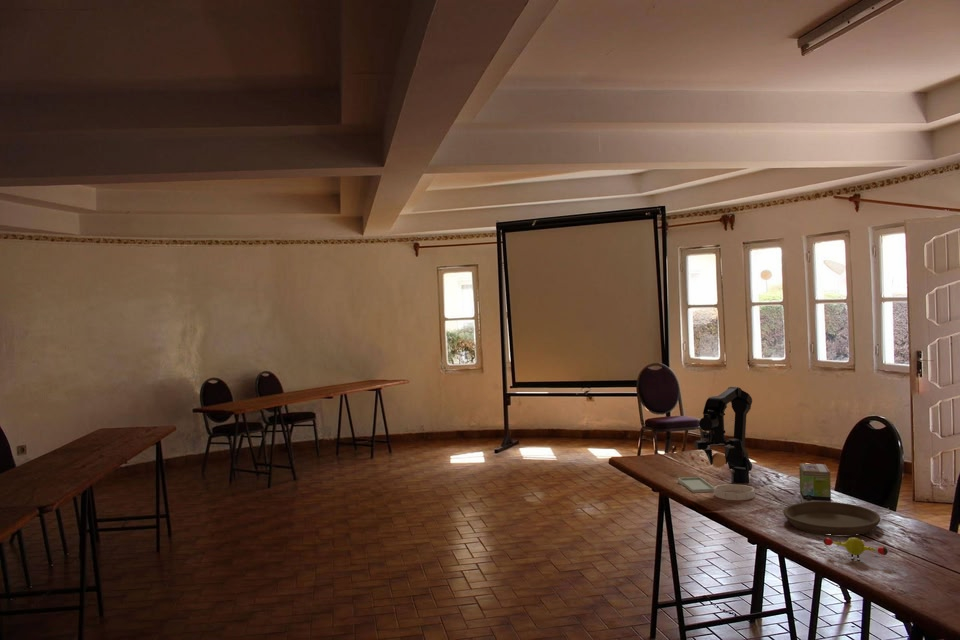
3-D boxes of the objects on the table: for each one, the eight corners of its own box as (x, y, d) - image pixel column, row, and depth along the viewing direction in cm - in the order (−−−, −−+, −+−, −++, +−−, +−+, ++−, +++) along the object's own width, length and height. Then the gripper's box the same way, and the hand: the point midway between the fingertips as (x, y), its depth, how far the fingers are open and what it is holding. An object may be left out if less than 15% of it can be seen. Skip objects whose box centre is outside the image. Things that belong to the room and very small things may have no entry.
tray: (700, 481, 328) (699, 476, 328) (716, 493, 306) (716, 488, 306) (678, 482, 328) (677, 477, 328) (693, 494, 306) (692, 489, 306)
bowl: (746, 491, 307) (745, 483, 307) (760, 501, 291) (760, 492, 291) (709, 493, 307) (709, 484, 307) (722, 502, 291) (721, 494, 291)
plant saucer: (826, 543, 238) (825, 530, 238) (765, 519, 268) (764, 506, 268) (902, 532, 246) (901, 519, 246) (835, 509, 276) (834, 497, 276)
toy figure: (890, 562, 218) (889, 540, 218) (886, 568, 214) (885, 545, 214) (827, 551, 230) (826, 530, 230) (821, 556, 226) (820, 534, 226)
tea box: (832, 510, 275) (830, 471, 274) (803, 509, 278) (801, 470, 278) (827, 500, 289) (825, 463, 289) (799, 499, 292) (798, 462, 292)
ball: (723, 465, 309) (722, 451, 309) (728, 468, 303) (728, 454, 303) (709, 466, 308) (708, 452, 308) (714, 469, 302) (713, 454, 302)
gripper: (731, 423, 314) (732, 459, 314) (688, 425, 313) (690, 461, 313) (741, 427, 303) (743, 464, 303) (697, 429, 302) (699, 467, 302)
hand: (718, 464), depth 306 cm, fingers closed on ball, 6 cm apart
